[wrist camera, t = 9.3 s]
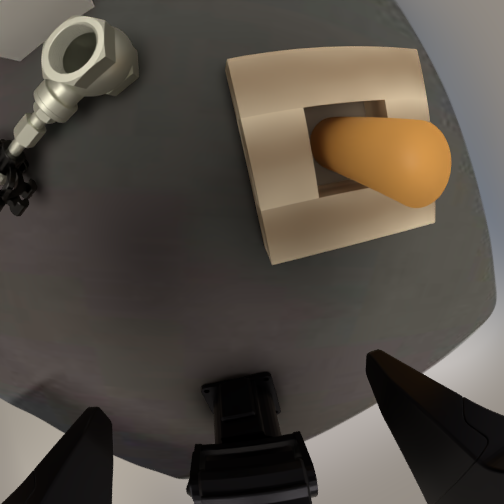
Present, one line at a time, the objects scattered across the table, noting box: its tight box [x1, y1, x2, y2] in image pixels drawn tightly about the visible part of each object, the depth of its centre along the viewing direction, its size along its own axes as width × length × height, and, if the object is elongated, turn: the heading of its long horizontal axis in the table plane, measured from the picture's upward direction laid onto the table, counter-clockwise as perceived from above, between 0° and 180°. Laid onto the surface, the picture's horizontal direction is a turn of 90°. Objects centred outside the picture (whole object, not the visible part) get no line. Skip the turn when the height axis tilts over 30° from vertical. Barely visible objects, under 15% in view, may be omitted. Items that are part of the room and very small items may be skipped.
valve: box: [0, 15, 139, 216], centre depth 12 cm, size 7×7×12 cm
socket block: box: [225, 46, 435, 265], centre depth 17 cm, size 12×12×3 cm
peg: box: [310, 117, 451, 208], centre depth 14 cm, size 4×4×9 cm
